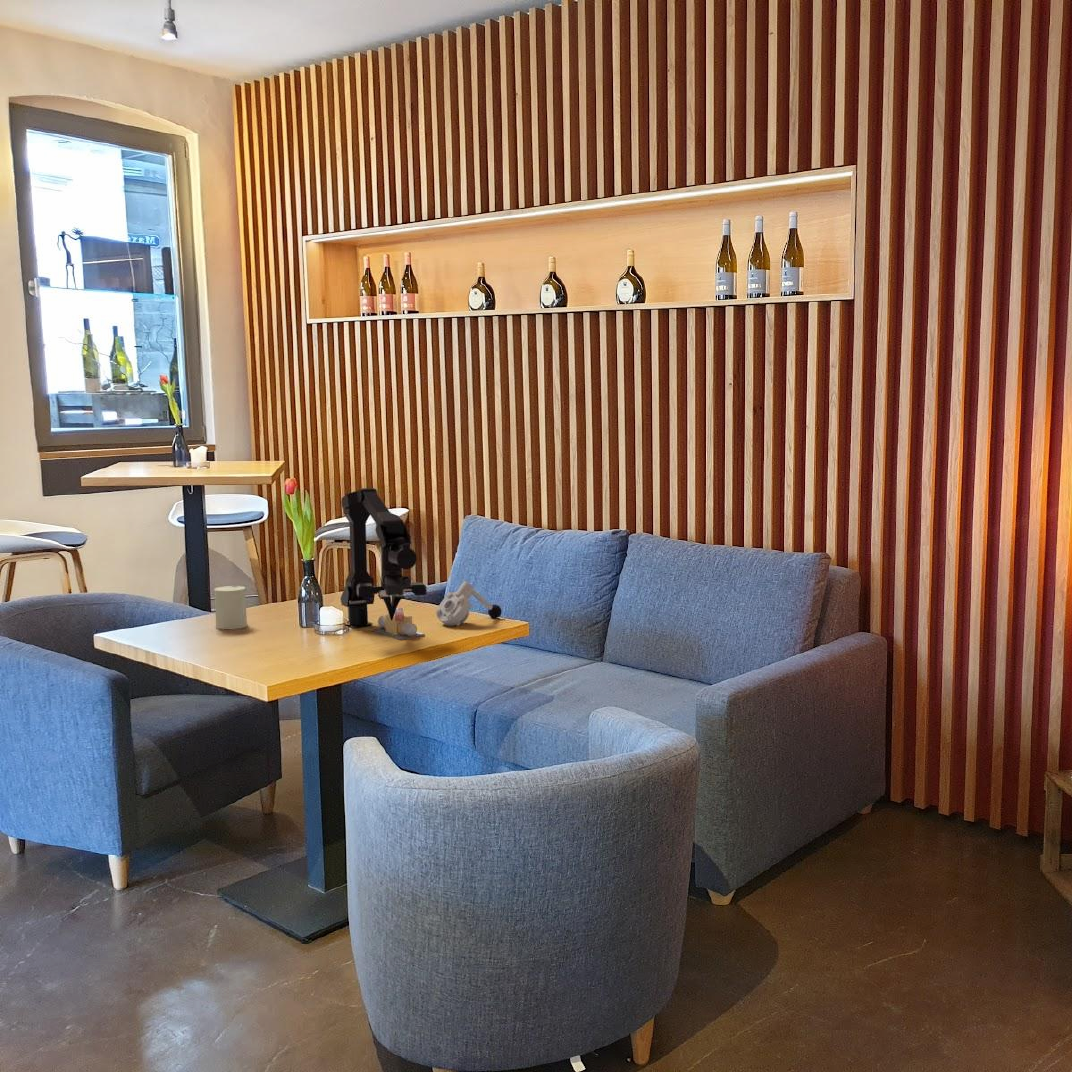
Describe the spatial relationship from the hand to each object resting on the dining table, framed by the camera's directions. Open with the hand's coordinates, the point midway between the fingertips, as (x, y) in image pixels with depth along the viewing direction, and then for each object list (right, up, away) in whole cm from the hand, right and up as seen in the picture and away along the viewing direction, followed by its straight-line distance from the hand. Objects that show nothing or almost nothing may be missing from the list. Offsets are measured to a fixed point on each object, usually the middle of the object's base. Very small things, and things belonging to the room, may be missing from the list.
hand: (391, 620), depth 313 cm
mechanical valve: (+20, -3, +27) cm, 34 cm away
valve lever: (+2, +1, +5) cm, 5 cm away
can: (-51, -4, +24) cm, 56 cm away
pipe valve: (+1, -5, +10) cm, 11 cm away
